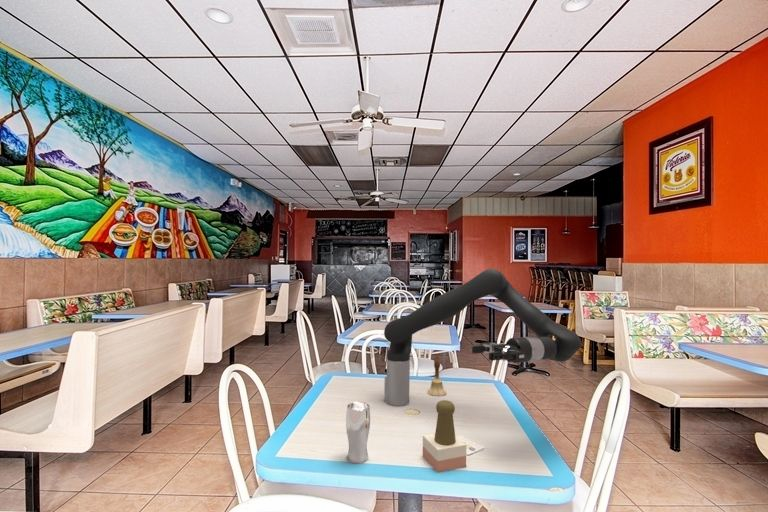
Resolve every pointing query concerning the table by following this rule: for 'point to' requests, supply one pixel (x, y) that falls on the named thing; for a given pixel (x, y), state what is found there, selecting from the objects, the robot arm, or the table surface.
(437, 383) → the hand bell
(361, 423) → the beer glass
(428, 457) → the brick base
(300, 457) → the table surface
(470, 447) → the page
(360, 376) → the table surface
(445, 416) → the cork
